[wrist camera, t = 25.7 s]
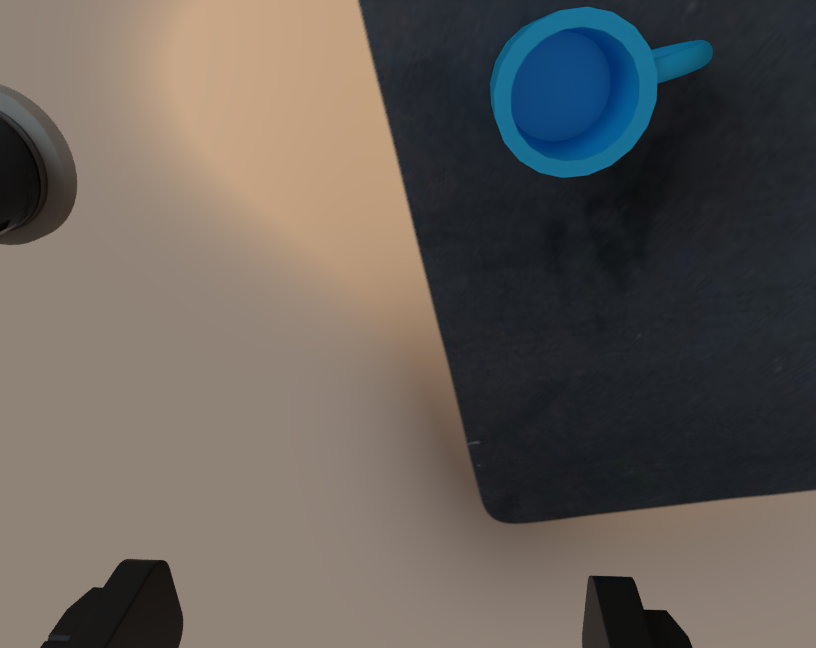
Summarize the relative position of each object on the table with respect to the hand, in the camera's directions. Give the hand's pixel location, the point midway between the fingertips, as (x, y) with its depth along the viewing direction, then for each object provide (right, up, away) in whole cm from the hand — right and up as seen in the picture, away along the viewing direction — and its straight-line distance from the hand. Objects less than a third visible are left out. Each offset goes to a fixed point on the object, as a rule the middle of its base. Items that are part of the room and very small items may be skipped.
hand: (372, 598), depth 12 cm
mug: (+12, +21, +27) cm, 36 cm away
